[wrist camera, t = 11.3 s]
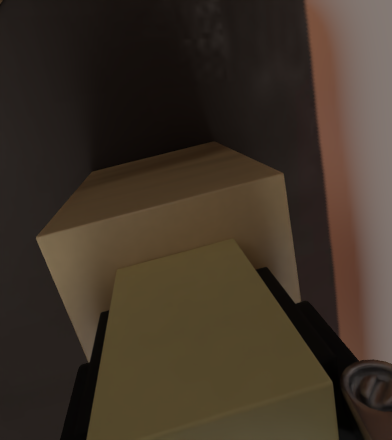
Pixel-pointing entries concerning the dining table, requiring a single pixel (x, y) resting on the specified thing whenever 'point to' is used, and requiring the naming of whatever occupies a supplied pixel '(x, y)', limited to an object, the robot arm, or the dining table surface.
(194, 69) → the dining table surface
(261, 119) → the dining table surface
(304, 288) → the dining table surface
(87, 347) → the stand
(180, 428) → the butter
